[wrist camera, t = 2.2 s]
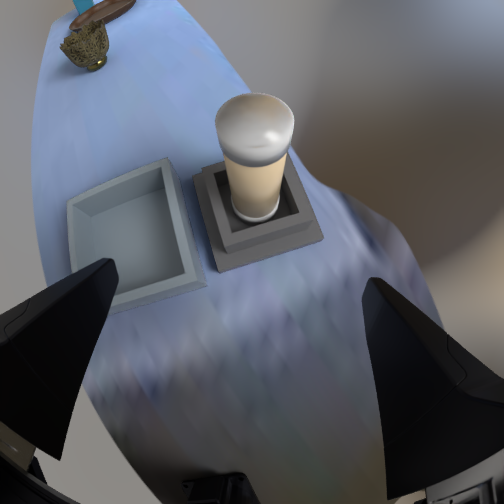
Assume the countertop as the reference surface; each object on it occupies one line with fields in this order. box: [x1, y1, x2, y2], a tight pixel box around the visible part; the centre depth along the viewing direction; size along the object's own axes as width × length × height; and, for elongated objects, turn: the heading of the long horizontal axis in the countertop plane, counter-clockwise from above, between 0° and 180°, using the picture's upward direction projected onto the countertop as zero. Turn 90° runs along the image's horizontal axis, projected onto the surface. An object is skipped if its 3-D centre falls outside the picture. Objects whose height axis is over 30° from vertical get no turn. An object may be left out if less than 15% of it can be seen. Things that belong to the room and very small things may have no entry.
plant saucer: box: [69, 0, 136, 32], centre depth 34 cm, size 18×18×3 cm
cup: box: [60, 19, 109, 71], centre depth 26 cm, size 8×7×8 cm
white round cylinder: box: [215, 93, 294, 226], centre depth 17 cm, size 4×4×11 cm
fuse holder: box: [192, 151, 324, 273], centre depth 22 cm, size 9×9×4 cm
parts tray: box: [67, 157, 208, 315], centre depth 21 cm, size 10×10×4 cm
